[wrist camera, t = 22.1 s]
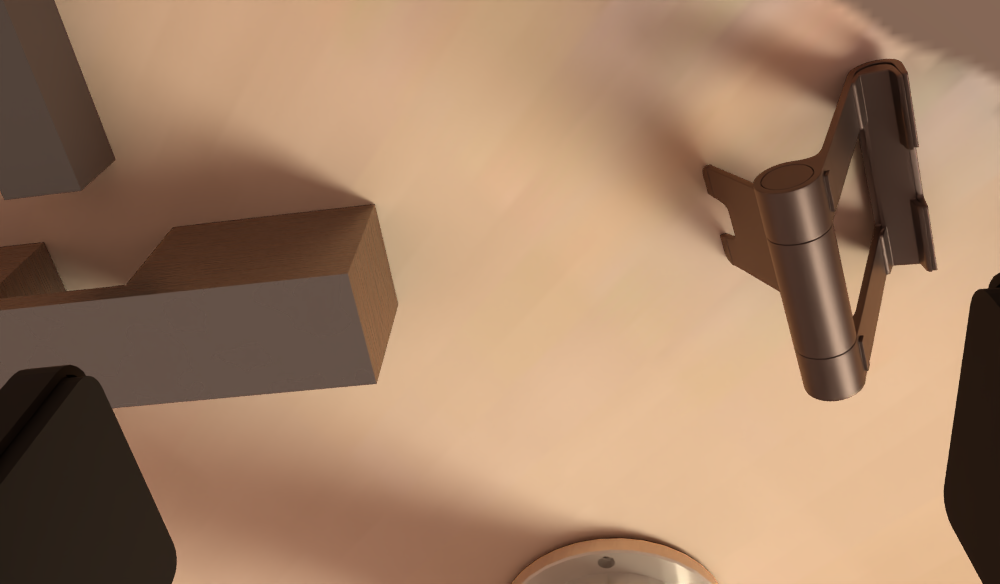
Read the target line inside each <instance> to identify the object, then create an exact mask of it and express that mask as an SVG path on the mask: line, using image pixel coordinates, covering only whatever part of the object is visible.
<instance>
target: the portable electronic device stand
mask: <svg viewBox="0 0 1000 584" xmlns="http://www.w3.org/2000/svg"><path fill="white" fill-rule="evenodd" d="M858 135H859V141H860V146H861V151H862V157H863V162H864V168H865V173H866V178H867V184H868V189H869V195H870V200H871V205H872V211H873V216H874V222H875V229H874V233H873V237H872V242H871V246H870V251H869V255H868V259H867V264H866V268H865V273H864V277H863V281H862V286H861V290H860V295H859V299H858V303H857V308H856V312H855V314H854V315H853V316H852V312H851V307H850V302H849V297H848V293H847V288H846V283H845V278H844V274H843V269H842V264H841V259H840V255H839V250H838V245H837V240H836V236H835V231H834V226H833V218H834V214H835V211H836V208H837V205H838V202H839V199H840V196H841V192H842V189H843V185H844V182H845V179H846V175H847V172H848V168H849V165H850V161H851V158H852V155H853V151H854V148H855V144H856V141H857V138H858ZM916 147H919V144H918V138H917V131H916V124H915V118H914V111H913V104H912V98H911V91H910V84H909V78H908V72H907V71H906V69H905V67H904V65H903V63H902V62H901V61H899V60H896V59H882V60H875V61H871V62H868V63H865V64H862V65H860V66H858V67H856V68H854V69H853V70H851V71H850V72H849V73H848V75H847V78H846V81H845V83H844V86H843V89H842V92H841V95H840V98H839V101H838V104H837V106H836V109H835V112H834V115H833V118H832V121H831V124H830V127H829V129H828V132H827V135H826V138H825V141H824V144H823V147H822V149H821V151H820V152H819V153H818V154H817V155H815V156H813V157H810V158H807V159H803V160H798V161H791V162H786V163H782V164H779V165H776V166H773V167H771V168H769V169H767V170H765V171H763V172H762V173H761V174H759V175H758V176H757V177H756V179H755V180H754V182H753V183H752V182H749V181H747V180H745V179H743V178H740V177H738V176H736V175H733V174H731V173H729V172H726V171H724V170H721V169H719V168H716V167H714V166H712V165H707V166H705V167H704V168H703V176H704V180H705V183H706V187H707V191H708V194H710V195H711V196H713V197H714V198H716V199H718V200H719V201H720V202H722V203H723V204H724V205H725V206H726V207H727V209H728V211H729V215H730V218H731V222H732V226H733V229H734V233H735V236H733V235H730V234H727V233H725V234H722V235H720V237H721V240H722V244H723V247H724V251H725V254H726V256H727V258H728V260H729V261H730V262H731V264H732V265H735V266H737V267H738V268H740V269H742V270H744V271H746V272H747V273H749V274H751V275H752V276H754V277H756V278H757V279H759V280H761V281H762V282H764V283H766V284H767V285H769V286H771V287H773V288H774V289H776V290H778V291H779V292H780V294H781V298H782V302H783V305H784V309H785V313H786V317H787V321H788V325H789V329H790V333H791V337H792V341H793V345H794V349H795V353H796V357H797V361H798V365H799V369H800V372H801V376H802V380H803V384H804V388H805V390H806V392H807V393H808V394H809V395H810V396H812V397H813V398H816V399H818V400H822V401H839V400H843V399H847V398H850V397H852V396H854V395H855V394H857V393H858V392H859V391H860V390H861V389H862V388H863V386H864V384H865V380H866V374H867V371H868V370H869V366H870V363H869V361H870V356H871V351H872V346H873V341H874V336H875V331H876V326H877V321H878V316H879V311H880V306H881V300H882V295H883V290H884V285H885V280H886V275H887V274H890V272H891V269H892V267H893V266H894V265H908V264H921V265H922V266H923V267H924V268H925V269H926V270H927V271H929V272H932V271H933V270H937V264H936V257H935V251H934V244H933V237H932V231H931V224H930V217H929V211H928V206H927V204H926V201H925V199H924V196H923V191H922V184H921V177H920V171H919V164H918V158H917V151H916Z"/></svg>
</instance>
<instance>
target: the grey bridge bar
mask: <svg viewBox="0 0 1000 584" xmlns="http://www.w3.org/2000/svg"><path fill="white" fill-rule="evenodd" d="M397 307H398V302H397V297H396V293H395V289H394V285H393V280H392V276H391V272H390V268H389V263H388V259H387V255H386V250H385V246H384V242H383V238H382V233H381V229H380V225H379V221H378V216H377V212H376V208H375V204H372V205H364V206H355V207H346V208H338V209H329V210H320V211H312V212H303V213H294V214H285V215H277V216H268V217H259V218H251V219H242V220H233V221H225V222H216V223H207V224H198V225H190V226H181V227H173V228H172V229H171V230H170V232H169V233H168V234H167V235H166V236H165V238H164V239H163V240H162V241H161V243H160V244H159V245H158V246H157V248H156V249H155V250H154V251H153V252H152V254H151V255H150V256H149V257H148V259H147V260H146V261H145V262H144V264H143V265H142V266H141V267H140V268H139V270H138V271H137V272H136V273H135V275H134V276H133V277H132V278H131V280H130V281H129V282H128V283H127V284H126V285H121V286H112V287H103V288H94V289H84V290H75V291H66V290H65V288H64V286H63V284H62V281H61V279H60V277H59V275H58V273H57V270H56V268H55V266H54V264H53V261H52V259H51V257H50V255H49V253H48V250H47V248H46V246H45V244H44V242H42V243H33V244H24V245H16V246H7V247H0V389H1V388H2V387H3V386H4V385H5V383H6V382H7V381H8V380H9V379H10V378H11V377H12V376H13V375H14V374H15V373H17V372H18V371H20V370H24V369H31V368H41V367H52V366H62V365H74V366H77V367H79V368H80V369H81V370H82V371H83V372H84V373H85V374H86V376H92V377H94V378H95V379H97V380H98V381H99V383H100V384H101V386H102V388H103V390H104V392H105V394H106V397H107V399H108V401H109V403H110V405H111V408H120V407H131V406H142V405H152V404H163V403H174V402H185V401H196V400H207V399H217V398H228V397H239V396H250V395H261V394H271V393H282V392H293V391H304V390H315V389H325V388H336V387H347V386H358V385H369V384H377V381H378V377H379V373H380V370H381V366H382V362H383V359H384V355H385V351H386V347H387V344H388V340H389V336H390V333H391V329H392V325H393V322H394V318H395V314H396V311H397Z"/></svg>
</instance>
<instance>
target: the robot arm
mask: <svg viewBox="0 0 1000 584" xmlns="http://www.w3.org/2000/svg"><path fill="white" fill-rule="evenodd" d="M944 503H945V508H946V512H947V516H948V519H949V521H950V523H951V526H952V528H953V530H954V531H955V533H956V535H957V537H958V539H959V541H960V542H961V544H962V546H963V548H964V550H965V552H966V554H967V555H968V557H969V559H970V561H971V563H972V565H973V566H974V568H975V570H976V572H977V574H978V576H979V578H980V579H981V581H982V583H983V584H1000V273H998V274H997V275H995V276H994V277H993V279H992V280H991V282H990V284H989V288H988V289H979V290H977V291H976V292H975V293H974V295H973V297H972V300H971V304H970V311H969V318H968V325H967V332H966V339H965V346H964V353H963V359H962V366H961V373H960V380H959V387H958V394H957V401H956V408H955V415H954V422H953V429H952V435H951V442H950V449H949V456H948V463H947V470H946V477H945V484H944ZM176 563H177V557H176V550H175V547H174V544H173V542H172V539H171V537H170V535H169V533H168V531H167V528H166V526H165V524H164V522H163V520H162V517H161V515H160V513H159V511H158V509H157V506H156V504H155V502H154V500H153V498H152V495H151V493H150V491H149V489H148V487H147V484H146V482H145V480H144V478H143V476H142V473H141V471H140V469H139V467H138V465H137V463H136V460H135V458H134V456H133V454H132V452H131V449H130V447H129V445H128V443H127V441H126V438H125V436H124V434H123V432H122V430H121V427H120V425H119V423H118V421H117V419H116V416H115V414H114V412H113V410H112V408H111V405H110V403H109V401H108V399H107V397H106V394H105V392H104V390H103V388H102V386H101V384H100V383H99V381H98V380H97V379H95V378H94V377H92V376H86V374H85V373H84V372H83V371H82V370H81V369H80V368H79V367H77V366H74V365H62V366H52V367H41V368H31V369H24V370H20V371H18V372H17V373H15V374H14V375H13V376H12V377H11V378H10V379H9V380H8V381H7V382H6V383H5V385H4V386H3V387H2V388H1V389H0V584H172V581H173V579H174V576H175V572H176ZM511 584H718V582H717V581H716V579H715V578H714V576H713V575H712V574H711V573H710V572H708V571H707V570H706V569H705V568H704V567H703V566H702V565H701V564H700V563H698V562H697V561H695V560H694V559H692V558H690V557H689V556H687V555H686V554H684V553H682V552H679V551H677V550H674V549H672V548H670V547H667V546H664V545H660V544H656V543H652V542H648V541H644V540H635V539H625V538H611V539H595V540H590V541H584V542H578V543H574V544H571V545H568V546H565V547H562V548H559V549H556V550H554V551H552V552H550V553H548V554H546V555H544V556H542V557H540V558H539V559H537V560H536V561H534V562H533V563H532V564H530V565H529V566H528V567H526V568H525V569H524V570H523V571H522V572H521V573H520V574H519V575H518V576H517V577H516V579H515V580H514V581H513V582H512V583H511Z"/></svg>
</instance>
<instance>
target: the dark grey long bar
mask: <svg viewBox="0 0 1000 584" xmlns="http://www.w3.org/2000/svg"><path fill="white" fill-rule="evenodd" d="M114 161H115V157H114V155H113V152H112V149H111V147H110V144H109V142H108V139H107V136H106V134H105V131H104V129H103V126H102V123H101V121H100V118H99V116H98V113H97V110H96V108H95V105H94V103H93V100H92V97H91V95H90V92H89V90H88V87H87V84H86V82H85V79H84V77H83V74H82V71H81V69H80V66H79V64H78V61H77V58H76V56H75V53H74V51H73V48H72V45H71V43H70V40H69V38H68V35H67V32H66V30H65V27H64V25H63V22H62V19H61V17H60V14H59V12H58V9H57V6H56V4H55V1H54V0H0V191H1V193H2V195H3V198H4V200H9V199H17V198H25V197H34V196H42V195H50V194H58V193H67V192H75V191H82V190H83V189H84V188H85V187H86V186H87V185H88V184H89V183H90V182H92V181H93V180H94V179H95V178H96V177H97V176H98V175H99V174H100V173H101V172H103V171H104V170H105V169H106V168H107V167H108V166H109V165H110V164H111V163H113V162H114Z"/></svg>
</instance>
